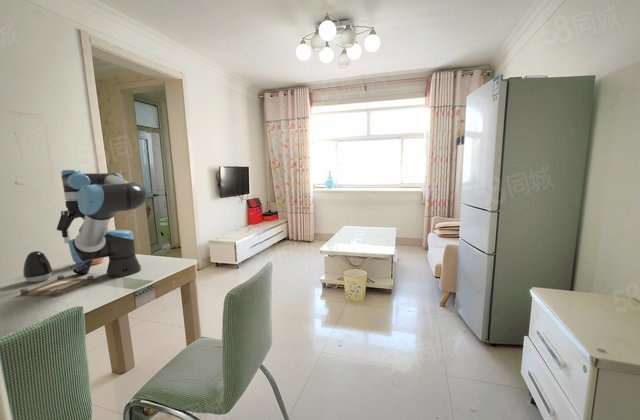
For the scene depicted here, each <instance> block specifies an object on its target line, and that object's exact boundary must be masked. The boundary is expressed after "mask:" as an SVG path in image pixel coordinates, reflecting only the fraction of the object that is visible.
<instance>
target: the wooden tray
mask: <svg viewBox="0 0 640 420" xmlns="http://www.w3.org/2000/svg"><path fill="white" fill-rule="evenodd" d="M56 278H57V279H56V280H53V281H50V282H48V283H45V284H42V285H40V286H36V287H34V288H31V289H29V288H27V287H26V288H23V289H20V290H19V291H20V297H22V296H23V297H56V296H58V297H60V296H63V295H65V294H67V293H69V292H72V291H73V290H76V289H79V288H81V287H83V286H86V285H88V284H91V283H92V282H94V281H95V278H94V275H89V276H87V278H80V277H79V278H75V277H73V278H72V277H70V278H69V277H65V275H64V274H63V275H62V274H60V275H57V277H56ZM64 293H65V294H64ZM62 294H63V295H62Z"/></svg>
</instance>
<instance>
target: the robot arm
mask: <svg viewBox="0 0 640 420" xmlns="http://www.w3.org/2000/svg"><path fill="white" fill-rule="evenodd" d="M61 181H62V187H63V195H64V200H65V203H64V204H65V208H66V209H67V210H61V211H60V218H59V221H58V224H57V227H56V230H57V231H59V232H61V236H62V238H63V241H64V244H68V248H69V252H70V255H71V258H72V261H73V263H75V264H76V263H79V262H85V261H90V260H95V259H99V258H108V265H107V269H106V277H108V278H121V277H126V276H131V275H135V274H137V273H139V272H140V271H141V270H142V265H141V264H140V263H139V261H138V259H137V255H136V248H135V237H134V233H133V231H131V230H128V229H112V230H107V228H108V225H109V223H110V220H111V219H112V218H114V217H116V214H117V212H126V211H127V212H128V211H134V210H135V209H138V208H139V207H142V206H143V205H144V204H145V202H146V201H147V198H148V191H147V189H146V188H145V186H143V185H142V184H140V183H138V182H132V181H127V180H125V179H124V178H123V176H122V174H121V173H119V172H118V173H115V172H110V173H109V172H108V173H97V172H96V173H82V172H81V170H79V169H63V170H61ZM78 218H81V219H82V220H83V222H82V224H83V226H82V225H81V226H82V230H81V233H80V234H79V233H78V234H77V235H76V236H75V238H72V239H71V234H70V233H71V232H70V230H69V229H70V226H71V224H72V223H73V221H74V220H76V219H78Z"/></svg>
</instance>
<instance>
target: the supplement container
mask: <svg viewBox="0 0 640 420" xmlns="http://www.w3.org/2000/svg"><path fill="white" fill-rule="evenodd" d="M92 263H93V260H90V261H85V262H79V263H75V264H74V266H73V268H72V272H73V273H75V274H77V275H87V274H88V273H89V271H90V270H91V268H92V266H93V265H92Z"/></svg>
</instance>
